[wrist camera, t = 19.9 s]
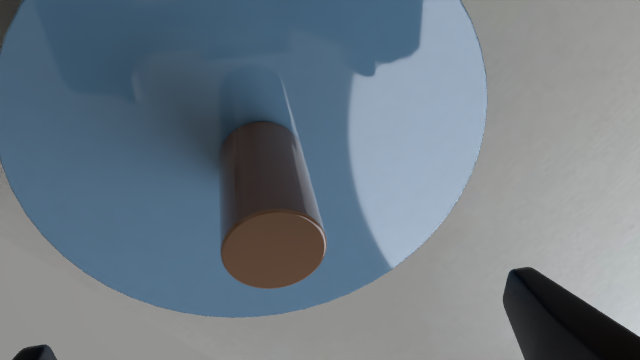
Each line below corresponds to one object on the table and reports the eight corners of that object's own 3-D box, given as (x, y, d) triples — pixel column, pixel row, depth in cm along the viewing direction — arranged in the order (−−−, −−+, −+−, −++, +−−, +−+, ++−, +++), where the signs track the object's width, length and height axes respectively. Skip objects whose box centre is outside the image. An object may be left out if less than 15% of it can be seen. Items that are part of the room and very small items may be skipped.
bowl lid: (93, 321, 19) (59, 462, 15) (-100, -100, 11) (-291, -51, 7) (448, 264, 20) (509, 377, 16) (507, -139, 12) (654, -118, 8)
